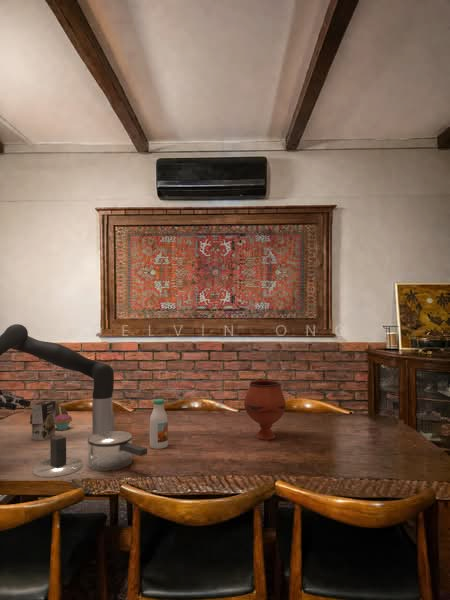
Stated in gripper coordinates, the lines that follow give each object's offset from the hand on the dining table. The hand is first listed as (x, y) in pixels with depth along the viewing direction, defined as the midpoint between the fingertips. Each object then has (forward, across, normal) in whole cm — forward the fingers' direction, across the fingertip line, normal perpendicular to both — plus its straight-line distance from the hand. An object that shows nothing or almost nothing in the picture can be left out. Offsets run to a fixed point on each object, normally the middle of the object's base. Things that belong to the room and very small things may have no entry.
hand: (23, 405), depth 158 cm
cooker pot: (+40, +6, +14) cm, 43 cm away
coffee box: (-9, +38, +23) cm, 45 cm away
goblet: (+91, +49, 0) cm, 103 cm away
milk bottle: (+47, +31, +11) cm, 57 cm away
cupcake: (-8, +52, +21) cm, 57 cm away
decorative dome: (-23, +68, +24) cm, 75 cm away
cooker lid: (+19, +2, +19) cm, 27 cm away
